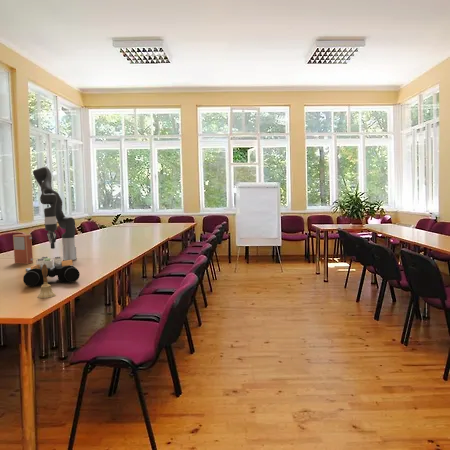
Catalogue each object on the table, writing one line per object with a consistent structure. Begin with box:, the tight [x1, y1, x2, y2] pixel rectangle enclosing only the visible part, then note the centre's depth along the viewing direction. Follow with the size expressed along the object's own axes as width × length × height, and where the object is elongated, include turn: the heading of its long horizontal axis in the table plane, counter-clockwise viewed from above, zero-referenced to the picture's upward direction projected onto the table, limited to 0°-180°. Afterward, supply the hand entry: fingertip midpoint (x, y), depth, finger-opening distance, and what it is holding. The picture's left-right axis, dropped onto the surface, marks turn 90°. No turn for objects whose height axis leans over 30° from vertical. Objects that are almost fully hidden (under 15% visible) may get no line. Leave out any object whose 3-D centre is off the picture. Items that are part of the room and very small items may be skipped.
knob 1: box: [29, 258, 45, 269], centre depth 264 cm, size 12×5×7 cm, turn 171°
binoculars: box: [22, 265, 81, 287], centre depth 231 cm, size 29×20×10 cm
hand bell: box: [37, 264, 56, 299], centre depth 200 cm, size 8×8×16 cm
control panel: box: [12, 233, 34, 265], centre depth 304 cm, size 21×7×15 cm
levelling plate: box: [25, 256, 64, 273], centre depth 273 cm, size 24×17×8 cm
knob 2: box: [53, 256, 74, 267], centre depth 276 cm, size 12×5×7 cm, turn 131°
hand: (52, 248), depth 275 cm, fingers closed
